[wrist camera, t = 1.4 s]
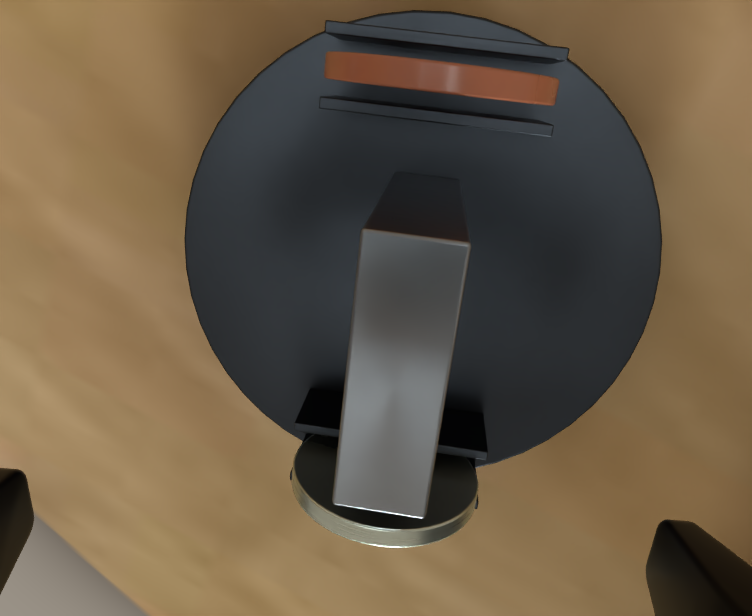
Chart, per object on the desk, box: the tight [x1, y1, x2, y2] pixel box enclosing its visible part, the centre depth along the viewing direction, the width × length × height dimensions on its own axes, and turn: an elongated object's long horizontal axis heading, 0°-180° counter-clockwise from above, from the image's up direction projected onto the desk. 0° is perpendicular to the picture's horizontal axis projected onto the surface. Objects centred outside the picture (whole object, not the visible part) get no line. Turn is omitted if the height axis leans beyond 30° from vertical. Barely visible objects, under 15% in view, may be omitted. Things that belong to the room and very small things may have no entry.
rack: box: [185, 10, 662, 548], centre depth 16 cm, size 15×15×9 cm
